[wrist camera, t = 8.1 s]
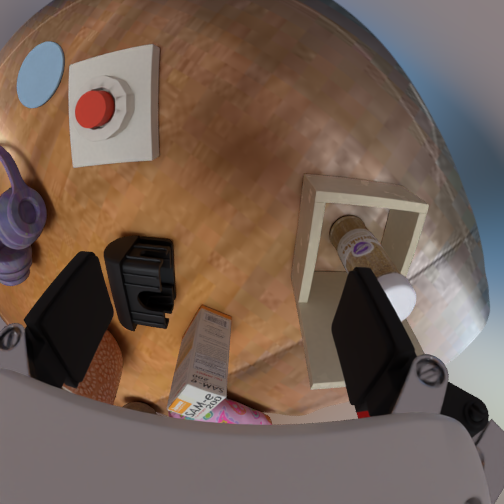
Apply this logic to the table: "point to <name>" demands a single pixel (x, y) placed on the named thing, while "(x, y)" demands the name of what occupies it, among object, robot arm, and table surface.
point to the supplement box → (201, 365)
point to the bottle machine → (332, 283)
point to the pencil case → (231, 414)
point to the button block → (117, 107)
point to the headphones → (18, 224)
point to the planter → (102, 373)
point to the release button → (94, 109)
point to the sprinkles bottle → (372, 261)
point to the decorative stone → (140, 407)
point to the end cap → (141, 280)
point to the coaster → (40, 74)
